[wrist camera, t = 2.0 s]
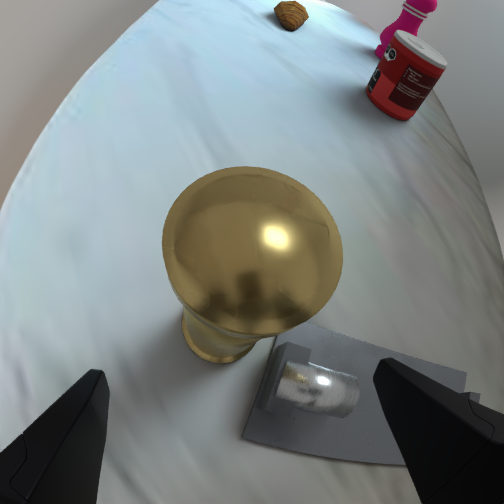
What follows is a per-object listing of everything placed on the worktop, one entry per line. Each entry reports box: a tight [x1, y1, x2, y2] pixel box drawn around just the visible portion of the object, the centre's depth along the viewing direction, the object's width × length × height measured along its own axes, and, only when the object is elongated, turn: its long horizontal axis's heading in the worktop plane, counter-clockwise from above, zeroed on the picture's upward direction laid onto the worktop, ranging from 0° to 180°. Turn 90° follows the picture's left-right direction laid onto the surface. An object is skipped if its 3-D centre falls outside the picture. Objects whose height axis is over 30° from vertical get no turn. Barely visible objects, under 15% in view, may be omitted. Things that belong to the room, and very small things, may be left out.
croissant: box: [274, 1, 309, 31], centre depth 42 cm, size 14×7×5 cm, turn 174°
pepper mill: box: [375, 0, 437, 59], centre depth 35 cm, size 7×7×20 cm
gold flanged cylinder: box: [162, 166, 343, 364], centre depth 14 cm, size 5×5×13 cm
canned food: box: [367, 30, 447, 120], centre depth 31 cm, size 8×8×11 cm
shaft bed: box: [242, 322, 480, 465], centre depth 17 cm, size 19×9×3 cm, turn 71°
